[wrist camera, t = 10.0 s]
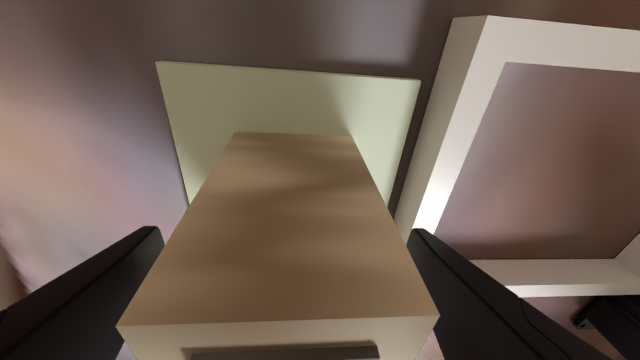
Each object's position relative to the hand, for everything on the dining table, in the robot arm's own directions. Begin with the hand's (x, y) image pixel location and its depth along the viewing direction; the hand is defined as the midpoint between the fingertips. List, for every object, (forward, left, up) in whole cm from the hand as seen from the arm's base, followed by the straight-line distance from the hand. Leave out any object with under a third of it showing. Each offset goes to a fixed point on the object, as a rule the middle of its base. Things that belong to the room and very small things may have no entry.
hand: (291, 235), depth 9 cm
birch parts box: (0, 0, -4) cm, 4 cm away
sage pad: (0, 0, -4) cm, 4 cm away
